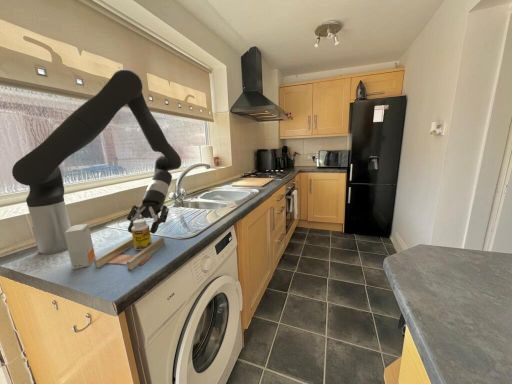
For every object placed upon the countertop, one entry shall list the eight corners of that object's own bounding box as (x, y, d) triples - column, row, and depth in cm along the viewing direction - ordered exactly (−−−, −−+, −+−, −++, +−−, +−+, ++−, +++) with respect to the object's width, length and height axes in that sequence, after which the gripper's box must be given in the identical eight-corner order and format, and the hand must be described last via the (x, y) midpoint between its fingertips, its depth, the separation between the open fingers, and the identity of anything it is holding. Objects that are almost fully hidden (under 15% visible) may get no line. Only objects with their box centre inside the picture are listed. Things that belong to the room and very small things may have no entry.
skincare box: (89, 266, 64) (81, 229, 61) (72, 269, 62) (63, 232, 59) (96, 257, 69) (88, 223, 67) (80, 260, 68) (72, 225, 65)
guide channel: (91, 267, 63) (89, 260, 62) (131, 242, 79) (130, 236, 79) (135, 270, 61) (134, 262, 60) (168, 243, 77) (167, 237, 77)
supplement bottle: (135, 252, 71) (130, 224, 69) (134, 246, 76) (129, 220, 73) (153, 248, 74) (149, 221, 72) (151, 242, 79) (147, 217, 76)
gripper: (134, 188, 80) (116, 228, 72) (168, 188, 78) (153, 229, 69) (145, 198, 86) (129, 235, 78) (177, 198, 84) (164, 237, 76)
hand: (141, 232), depth 74 cm, fingers open, 8 cm apart
